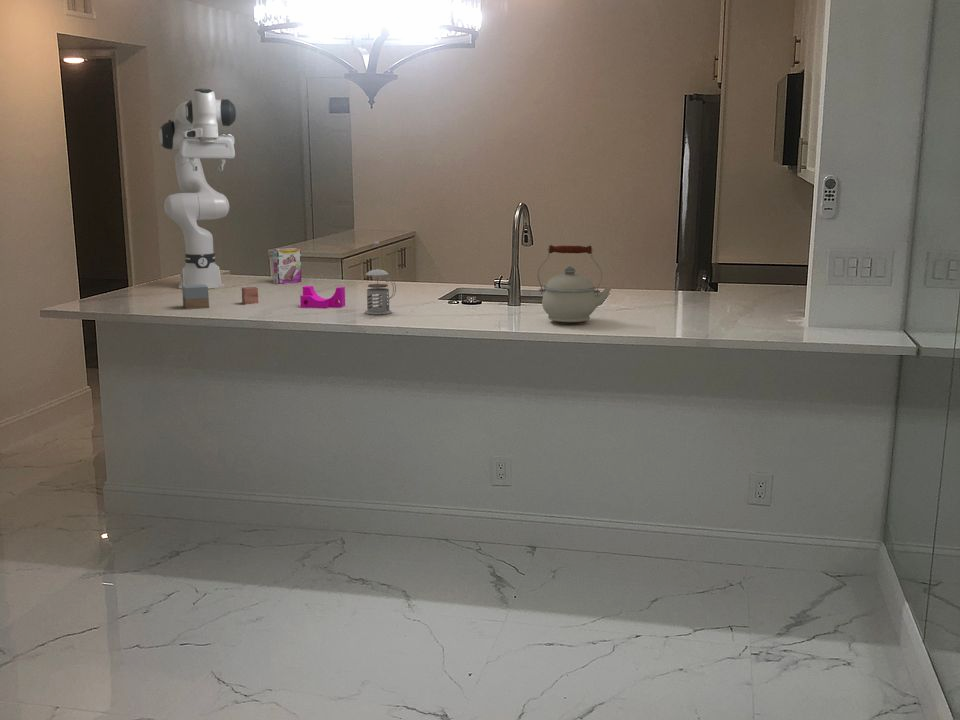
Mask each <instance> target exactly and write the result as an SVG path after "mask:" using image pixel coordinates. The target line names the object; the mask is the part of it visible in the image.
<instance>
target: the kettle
mask: <svg viewBox="0 0 960 720" xmlns="http://www.w3.org/2000/svg"><path fill="white" fill-rule="evenodd" d="M547 251H548V253H547V257H546V259H545V260H544V261H543V262H542V263H541V265H540V266H539V268H538V270H537V271H536V272H537V273H536V274H537V281H538V284H539V286H540V288H539V289H538V292H540V294H543V296H542V298H541V299H542V300H541V305H542V308H543V310H544V312H545V313H546V314H547V319H548V320H550V321H554V322H561V323H581V322H582V323H583V322H586V321H589V320H590V316H591V315H592V313H594V311H595V310H596V309H597V308H598V307H599V306H600V305H602V304H603V302H604V301H606V300H605V299H606V298H607V296H608V295H609V294H610V292H611V290H612V287H609V286H606V287H605V288H603V291H602V292H601V290H600V289H599V288H600V285H601V283H602V279H603V270H602V268H601V267H600V266H599V264H598V263H597V261H596V260H595V259H594V258H593V251H594V248H593V246H592V245H587V246H583V245H557V246H555V245H552V244H550V245H548V247H547ZM553 253H557V254H558V253H559V254H584V253H586V254H589V255H590V257H591V260H592V261H593V263H594V264H595V265H596V267H597V268H598V269H599V272H600V274H601V277H600V281H599V284H598V285H597V287H596V286H595V285H594V284H593V282H592V280H591V279H590V278H588V277H586V276H584V275H581V274H576V272H577V271H576V270H575V268H574V267H573V266H571V265H570V266H568V267H566V268H565V269H564V270H563V272H564V273H563V274H562V273H561V274H557V275H555V276H554V275H553V276H552V277H551V278H549V279H548V280H547V282H546V284H545V285H544V286H542V283H541V281H540V276H539V273H540V270H541V268H542V266H543V265H545V263H546V262H547V261H548V259H549V257H550V254H553Z"/></svg>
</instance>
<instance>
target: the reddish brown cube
mask: <svg viewBox="0 0 960 720" xmlns="http://www.w3.org/2000/svg"><path fill="white" fill-rule="evenodd" d="M258 289H259V288H258V287H256V286H245V287H241V303H242V304H243V303H244V304H243V305H245V306H246V305H253V304H254V305H255V303H256V304H259V290H258Z"/></svg>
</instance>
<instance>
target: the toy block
mask: <svg viewBox="0 0 960 720" xmlns="http://www.w3.org/2000/svg"><path fill="white" fill-rule="evenodd" d="M299 297H300V298H299V299H300V308H302V309H303V308H308V309H310V308H311V309H329V308H344V307H346V287H345V286H338V287H336V288H335V292H334V294H333V295H332V296H331V297H330V298H325V297H321V296H320V295H319V294H318V293H317V292H316V290H315V287H314V285H304V286H302V295H299Z"/></svg>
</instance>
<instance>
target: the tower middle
mask: <svg viewBox="0 0 960 720" xmlns="http://www.w3.org/2000/svg"><path fill="white" fill-rule="evenodd" d="M181 291H182V298H183V297H184V298H185V299H196V298H209V289H208V287H207V286H206V285H204V284H203V285H182V289H181ZM209 299H210V298H209Z"/></svg>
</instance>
